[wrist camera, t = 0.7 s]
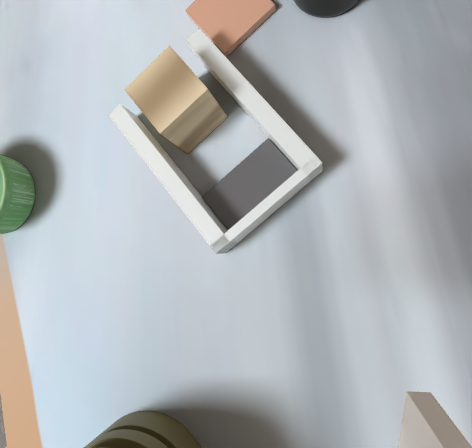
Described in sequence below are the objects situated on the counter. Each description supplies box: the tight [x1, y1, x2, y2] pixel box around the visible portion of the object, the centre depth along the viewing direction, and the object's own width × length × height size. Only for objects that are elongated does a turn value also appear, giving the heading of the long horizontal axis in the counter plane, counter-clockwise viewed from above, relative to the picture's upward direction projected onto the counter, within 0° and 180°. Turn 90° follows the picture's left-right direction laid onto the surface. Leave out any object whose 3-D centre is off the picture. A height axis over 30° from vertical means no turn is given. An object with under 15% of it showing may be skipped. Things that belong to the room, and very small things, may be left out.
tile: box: [185, 0, 276, 57], centre depth 34 cm, size 6×6×1 cm
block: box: [124, 46, 228, 154], centre depth 31 cm, size 5×5×6 cm
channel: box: [109, 28, 323, 253], centre depth 32 cm, size 16×11×3 cm
